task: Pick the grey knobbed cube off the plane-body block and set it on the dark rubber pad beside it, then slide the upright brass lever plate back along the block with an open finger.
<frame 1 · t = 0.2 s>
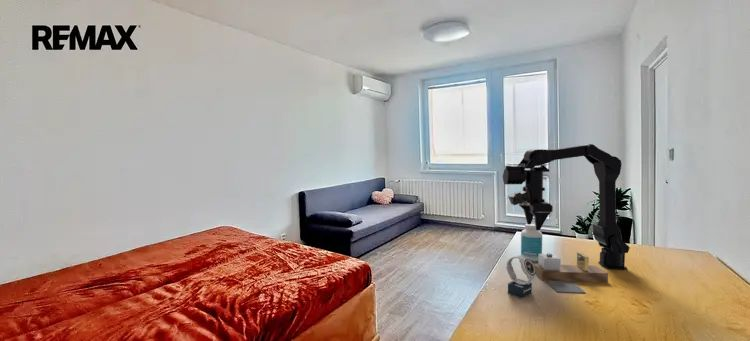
hand: (533, 227, 121), 14 cm above the table, fingers open, 9 cm apart
pad: (565, 287, 103), on the table
grey knobbed cube: (549, 267, 111), point 3 cm above the table, touching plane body
watch: (520, 294, 99), on the table
pill bottle: (531, 259, 129), on the table
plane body: (569, 277, 111), on the table
lever: (581, 261, 110), point 6 cm above the table, slide at 0.0 cm
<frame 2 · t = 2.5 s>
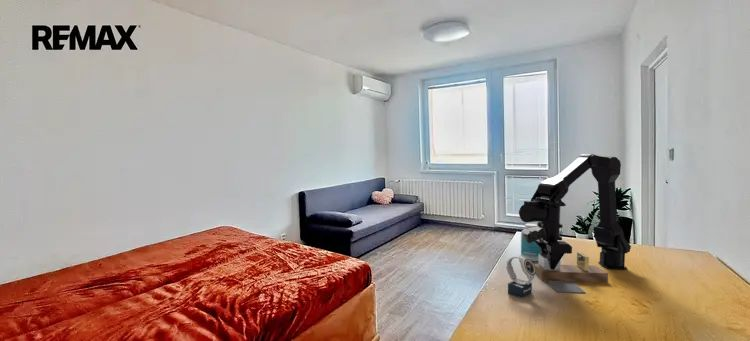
hand: (549, 266, 111), 4 cm above the table, fingers closed on grey knobbed cube, 5 cm apart
grey knobbed cube: (549, 267, 111), point 3 cm above the table, touching gripper, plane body
everything else where it was.
when the fingers open (2 cm above the table, at t = 6.4 s): grey knobbed cube drops 1 cm, resting on pad.
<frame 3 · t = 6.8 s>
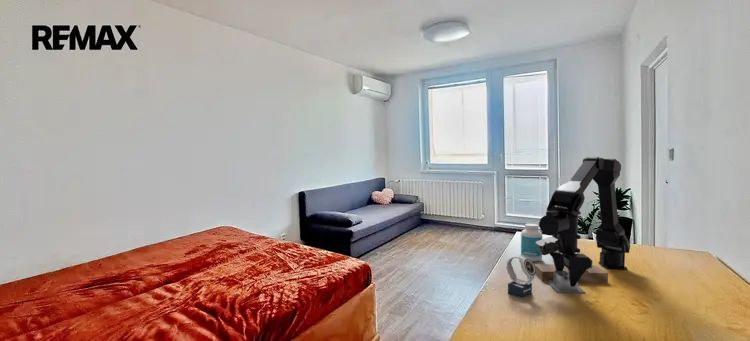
hand: (565, 280, 103), 2 cm above the table, fingers open, 9 cm apart
grey knobbed cube: (565, 286, 103), resting on pad
everything else where it was.
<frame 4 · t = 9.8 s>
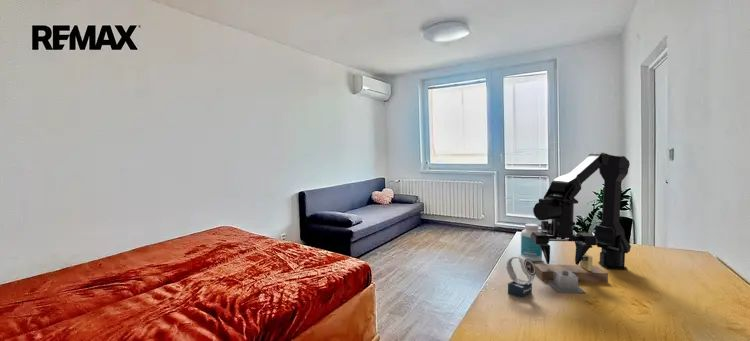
hand: (562, 264, 111), 4 cm above the table, fingers open, 9 cm apart
lever: (584, 261, 110), point 6 cm above the table, slide at 1.1 cm, touching gripper
everything else where it was.
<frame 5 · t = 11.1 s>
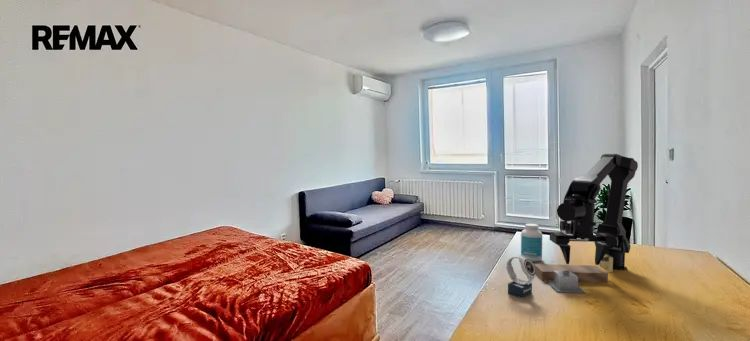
hand: (581, 264, 110), 4 cm above the table, fingers open, 9 cm apart
lever: (604, 261, 109), point 6 cm above the table, slide at 7.2 cm, touching gripper
everything else where it was.
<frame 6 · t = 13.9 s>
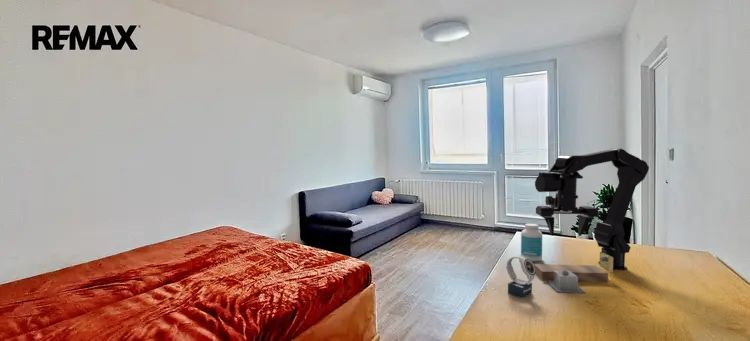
hand: (565, 235, 118), 12 cm above the table, fingers open, 9 cm apart
lever: (605, 261, 109), point 6 cm above the table, slide at 7.3 cm
everything else where it was.
at the end: grey knobbed cube inside the target area (0.1 cm from its centre), resting on pad; grey knobbed cube tilted 0°; lever slide at 7.3 cm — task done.
